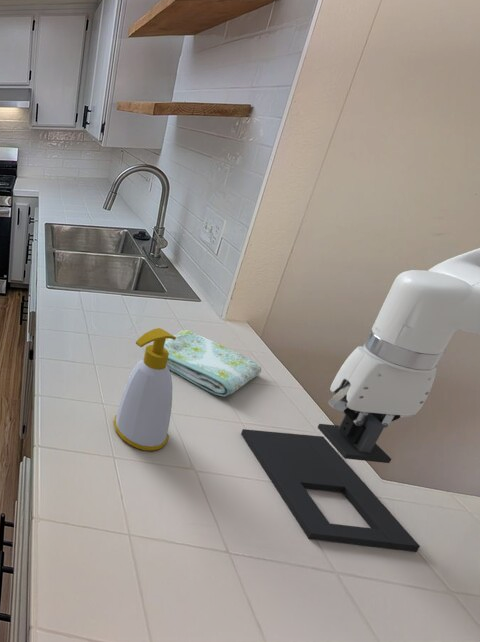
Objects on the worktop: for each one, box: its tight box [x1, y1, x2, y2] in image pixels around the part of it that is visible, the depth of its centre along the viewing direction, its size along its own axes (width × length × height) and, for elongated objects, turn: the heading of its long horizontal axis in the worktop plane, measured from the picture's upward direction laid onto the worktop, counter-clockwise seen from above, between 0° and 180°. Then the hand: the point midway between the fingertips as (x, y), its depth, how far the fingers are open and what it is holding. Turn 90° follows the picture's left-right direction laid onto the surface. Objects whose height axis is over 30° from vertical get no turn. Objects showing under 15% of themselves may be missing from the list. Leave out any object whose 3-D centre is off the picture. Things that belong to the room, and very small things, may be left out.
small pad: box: [317, 411, 392, 464], centre depth 65 cm, size 7×7×7 cm
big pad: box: [240, 428, 421, 553], centre depth 73 cm, size 16×22×2 cm
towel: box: [164, 329, 262, 397], centre depth 105 cm, size 18×21×5 cm
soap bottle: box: [113, 327, 176, 452], centre depth 81 cm, size 11×12×26 cm
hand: (355, 437), depth 66 cm, fingers closed on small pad, 1 cm apart
